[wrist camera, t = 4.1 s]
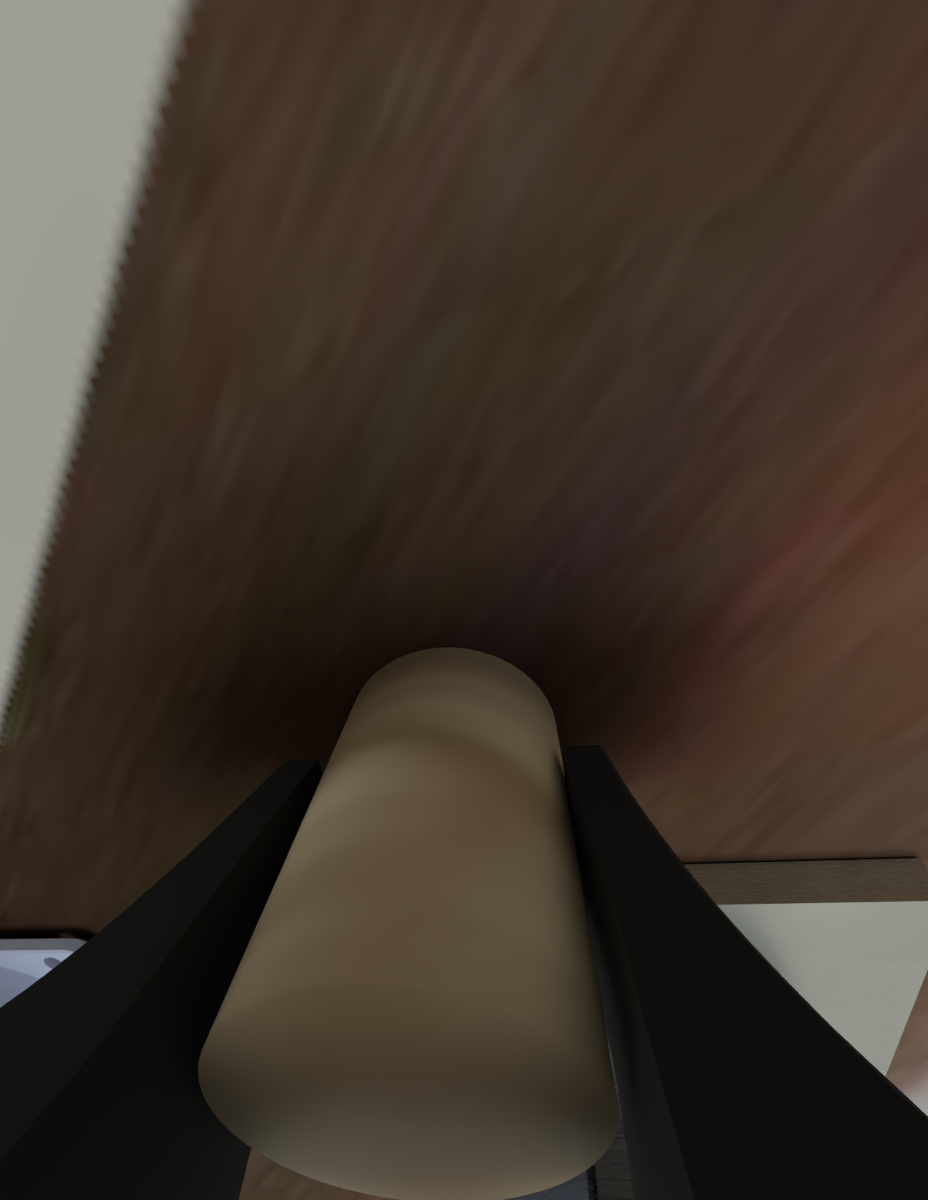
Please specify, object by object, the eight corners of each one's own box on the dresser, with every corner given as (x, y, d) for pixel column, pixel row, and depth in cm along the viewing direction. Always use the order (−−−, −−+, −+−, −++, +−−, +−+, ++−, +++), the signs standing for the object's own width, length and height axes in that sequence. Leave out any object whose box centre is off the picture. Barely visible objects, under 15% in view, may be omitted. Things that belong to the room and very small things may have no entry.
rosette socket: (467, 1170, 19) (458, 1390, 15) (393, 872, 13) (342, 1113, 8) (808, 1182, 18) (902, 1427, 14) (918, 858, 11) (1155, 1133, 7)
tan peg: (371, 817, 12) (263, 1195, 6) (330, 655, 10) (134, 982, 5) (561, 810, 11) (618, 1210, 6) (552, 639, 10) (620, 982, 4)
